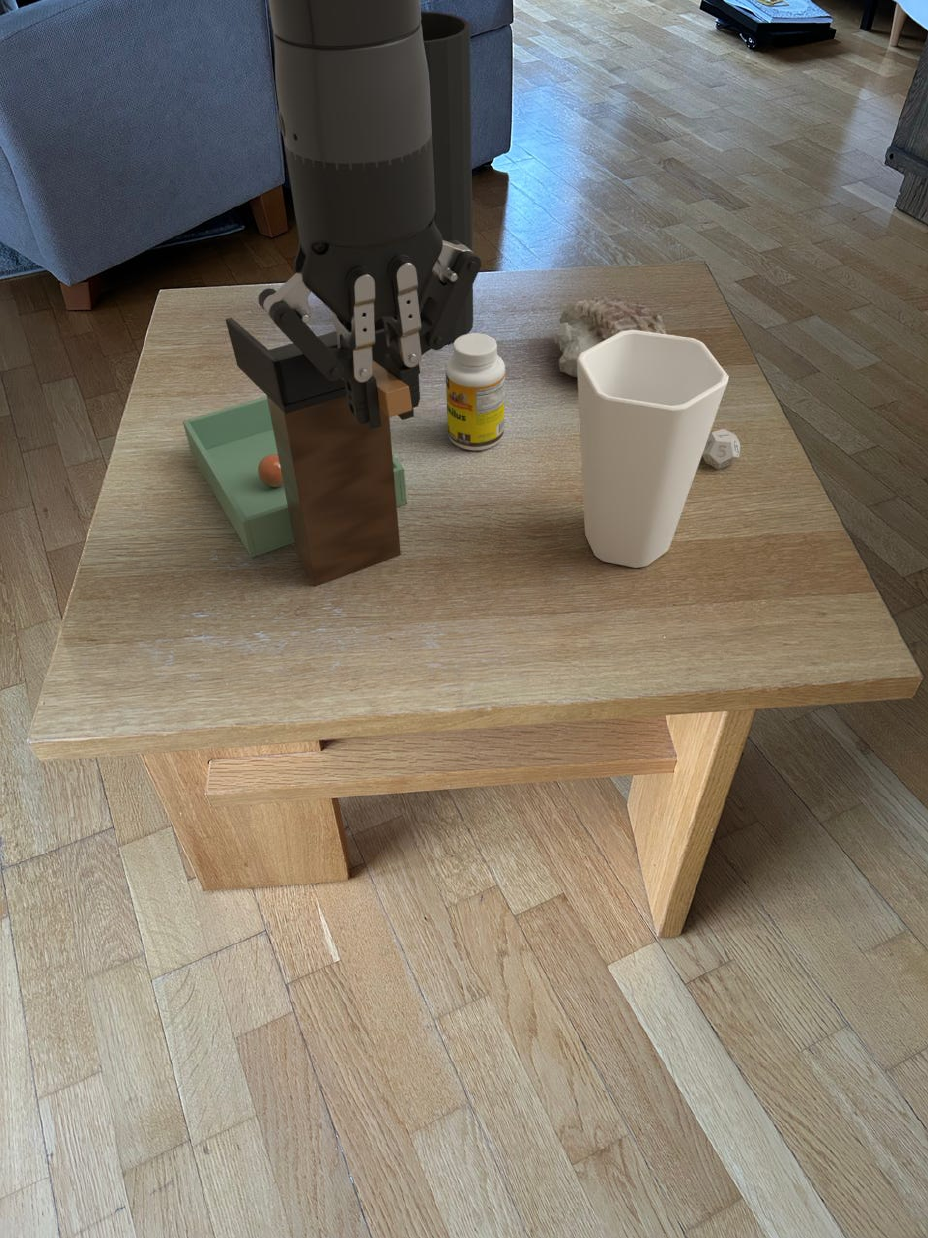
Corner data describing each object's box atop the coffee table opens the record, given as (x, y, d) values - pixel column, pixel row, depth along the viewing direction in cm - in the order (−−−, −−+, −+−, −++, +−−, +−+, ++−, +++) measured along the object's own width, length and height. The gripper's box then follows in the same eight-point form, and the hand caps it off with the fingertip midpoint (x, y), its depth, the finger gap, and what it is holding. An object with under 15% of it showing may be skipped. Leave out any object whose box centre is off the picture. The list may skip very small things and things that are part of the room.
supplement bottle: (439, 428, 95) (435, 335, 88) (490, 415, 97) (490, 322, 89) (460, 459, 92) (458, 364, 84) (513, 445, 93) (515, 351, 86)
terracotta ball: (250, 453, 87) (254, 476, 89) (263, 474, 85) (266, 497, 87) (281, 443, 88) (285, 467, 90) (294, 464, 86) (297, 487, 88)
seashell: (526, 323, 104) (582, 245, 98) (586, 345, 110) (642, 273, 104) (581, 413, 96) (645, 335, 90) (641, 431, 102) (705, 359, 96)
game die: (742, 471, 90) (749, 445, 87) (704, 474, 89) (709, 448, 87) (730, 449, 92) (736, 423, 90) (693, 452, 92) (698, 426, 90)
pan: (329, 458, 57) (317, 401, 55) (237, 366, 71) (225, 318, 69) (475, 410, 60) (469, 355, 58) (359, 332, 74) (351, 285, 72)
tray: (251, 558, 82) (242, 522, 79) (191, 455, 93) (182, 420, 90) (407, 503, 87) (404, 468, 84) (334, 411, 98) (329, 377, 95)
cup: (699, 516, 85) (736, 343, 73) (682, 592, 78) (719, 416, 66) (577, 493, 88) (592, 323, 75) (550, 565, 81) (562, 391, 69)
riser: (315, 586, 80) (282, 402, 67) (297, 558, 82) (262, 375, 69) (401, 554, 82) (385, 371, 69) (381, 528, 85) (363, 347, 72)
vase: (373, 341, 107) (344, 39, 86) (398, 298, 114) (377, 8, 92) (461, 351, 105) (455, 45, 84) (482, 307, 112) (481, 13, 91)
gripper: (253, 183, 44) (307, 483, 56) (512, 124, 48) (508, 415, 61) (203, 132, 48) (263, 420, 61) (443, 82, 53) (453, 361, 65)
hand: (386, 416), depth 61 cm, fingers closed on pan, 2 cm apart
